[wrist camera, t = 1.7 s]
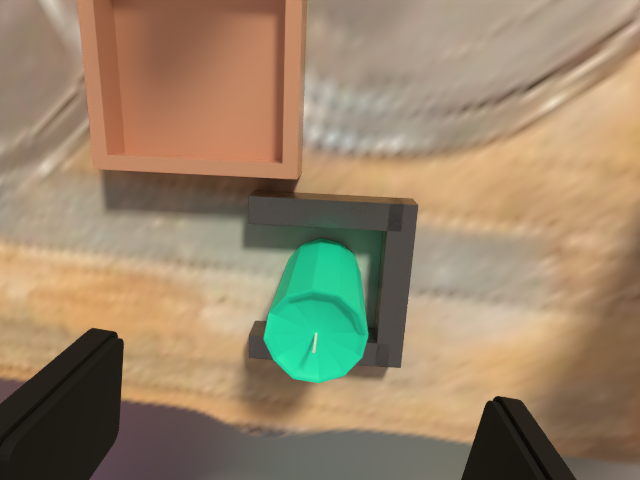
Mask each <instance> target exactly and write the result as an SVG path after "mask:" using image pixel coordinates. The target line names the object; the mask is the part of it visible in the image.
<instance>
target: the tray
mask: <svg viewBox="0 0 640 480" xmlns="http://www.w3.org/2000/svg"><path fill="white" fill-rule="evenodd" d="M77 3H78V13H79V23H80V33H81V43H82V53H83V63H84V73H85V83H86V93H87V103H88V113H89V123H90V132H91V142H92V152H93V162H94V169H102V170H122V171H142V172H161V173H181V174H201V175H221V176H241V177H260V178H280V179H298V177H299V176H300V175H301V173H302V144H303V112H304V81H305V50H306V19H307V0H77Z"/></svg>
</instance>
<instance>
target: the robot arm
mask: <svg viewBox="0 0 640 480" xmlns="http://www.w3.org/2000/svg"><path fill="white" fill-rule="evenodd" d="M123 349H124V342H123V340H122V339H120V338H118V335H117V333H116V332H114V331H108V330H102V329H96V328H91V329H90V330H88V331H87V332H86V333H85V334H83V335H82V336H81V337H80V338H79V339H77V340H76V341H75V342H74V343H73V344H72V345H70V346H69V347H68V348H67V349H66V350H64V351H63V352H62V353H61V354H60V355H58V356H57V357H56V358H55V359H54V360H52V361H51V362H50V363H49V364H48V365H47V366H45V367H44V368H43V369H42V370H41V371H39V372H38V373H37V374H36V375H35V376H33V377H32V378H31V379H30V380H28V381H27V382H26V383H25V384H24V385H22V386H21V387H20V388H19V389H18V390H16V391H15V392H14V393H13V394H12V395H10V396H9V397H8V398H7V399H6V400H4V401H3V402H2V403H1V404H0V480H89V479H90V477H91V476H92V475H93V473H94V472H95V470H96V469H97V467H98V466H99V464H100V463H101V462H102V460H103V459H104V457H105V456H106V454H107V453H108V451H109V450H110V448H111V447H112V446H113V444H114V442H115V440H116V437H117V435H118V431H119V419H120V402H121V384H122V366H123ZM461 480H576V478H575V477H574V475H573V474H572V472H571V471H570V469H569V468H568V467H567V465H566V464H565V462H564V461H563V459H562V458H561V457H560V455H559V454H558V452H557V451H556V449H555V448H554V447H553V445H552V444H551V442H550V441H549V439H548V438H547V436H546V435H545V434H544V432H543V431H542V429H541V428H540V426H539V425H538V424H537V422H536V421H535V419H534V418H533V416H532V415H531V413H530V412H529V411H528V409H527V408H526V406H525V405H524V403H523V402H522V401H521V400H518V399H512V398H506V397H500V396H497V397H495V398H494V399H493V401H488V402H487V403H486V405H485V408H484V411H483V414H482V417H481V420H480V423H479V426H478V430H477V433H476V436H475V439H474V442H473V445H472V448H471V451H470V454H469V458H468V461H467V464H466V467H465V470H464V473H463V476H462V479H461Z"/></svg>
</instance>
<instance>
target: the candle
mask: <svg viewBox="0 0 640 480" xmlns="http://www.w3.org/2000/svg"><path fill="white" fill-rule="evenodd" d="M367 339H368V327H367V320H366V312H365V304H364V296H363V289H362V281H361V273H360V270H359V267H358V264H357V261H356V258H355V255H354V254H353V253H352V252H351V251H349V250H348V249H347V248H346V247H345V246H344V245H343V244H341V243H340V242H336V241H331V240H326V239H322V238H320V239H317V240H314V241H311V242H307V243H304V244H302V245H301V246H300V247H299V248H298V249H297V250H296V251H295V253H294V254H293V255H292V256H291V257H290V258H289V261H288V263H287V266H286V269H285V271H284V274H283V277H282V279H281V282H280V284H279V287H278V290H277V292H276V295H275V298H274V300H273V303H272V305H271V308H270V311H269V314H268V319H267V324H266V329H265V334H264V341H265V343H266V345H267V348H268V350H269V352H270V354H271V356H272V358H273V360H274V361H275V362H276V363H277V364H278V365H279V366H280V367H281V368H282V369H283V370H284V371H285V372H287V373H288V374H289V375H290V376H291V377H292V378H293V379H297V380H303V381H309V382H316V383H321V382H325V381H328V380H332V379H335V378H339V377H342V376H345V375H346V374H347V373H348V372H349V371H350V369H351V368H352V367H353V366H354V365H355V364H356V363H357V362H358V361H359V360H360V359H361V358H362V357H363V353H364V349H365V346H366V342H367Z"/></svg>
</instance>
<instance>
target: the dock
mask: <svg viewBox="0 0 640 480" xmlns="http://www.w3.org/2000/svg"><path fill="white" fill-rule="evenodd" d="M417 212H418V204H417V203H416V202H415V201H414V200H413V199H407V198H388V197H369V196H349V195H330V194H311V193H291V192H272V191H255V192H253V193H252V194H251V195H250V196H249V223H250V224H268V225H286V226H305V227H323V228H342V229H360V230H378V231H383V238H382V249H381V261H380V272H379V284H378V295H377V307H376V318H375V328H368V339H367V342H366V346H365V349H364V353H363V357H362V358H361V359H360V360H359V361H358V362H357V363H356V364H355V365H365V366H380V367H396V368H401V359H402V350H403V341H404V332H405V322H406V313H407V304H408V295H409V286H410V277H411V267H412V258H413V249H414V240H415V231H416V221H417ZM266 324H267V322H266V321H255V323H254V325H253V327H252V329H251V332H250V334H249V358H258V359H273V358H272V356H271V354H270V352H269V350H268V348H267V345H266V343H265V341H264V334H265V329H266Z"/></svg>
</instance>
